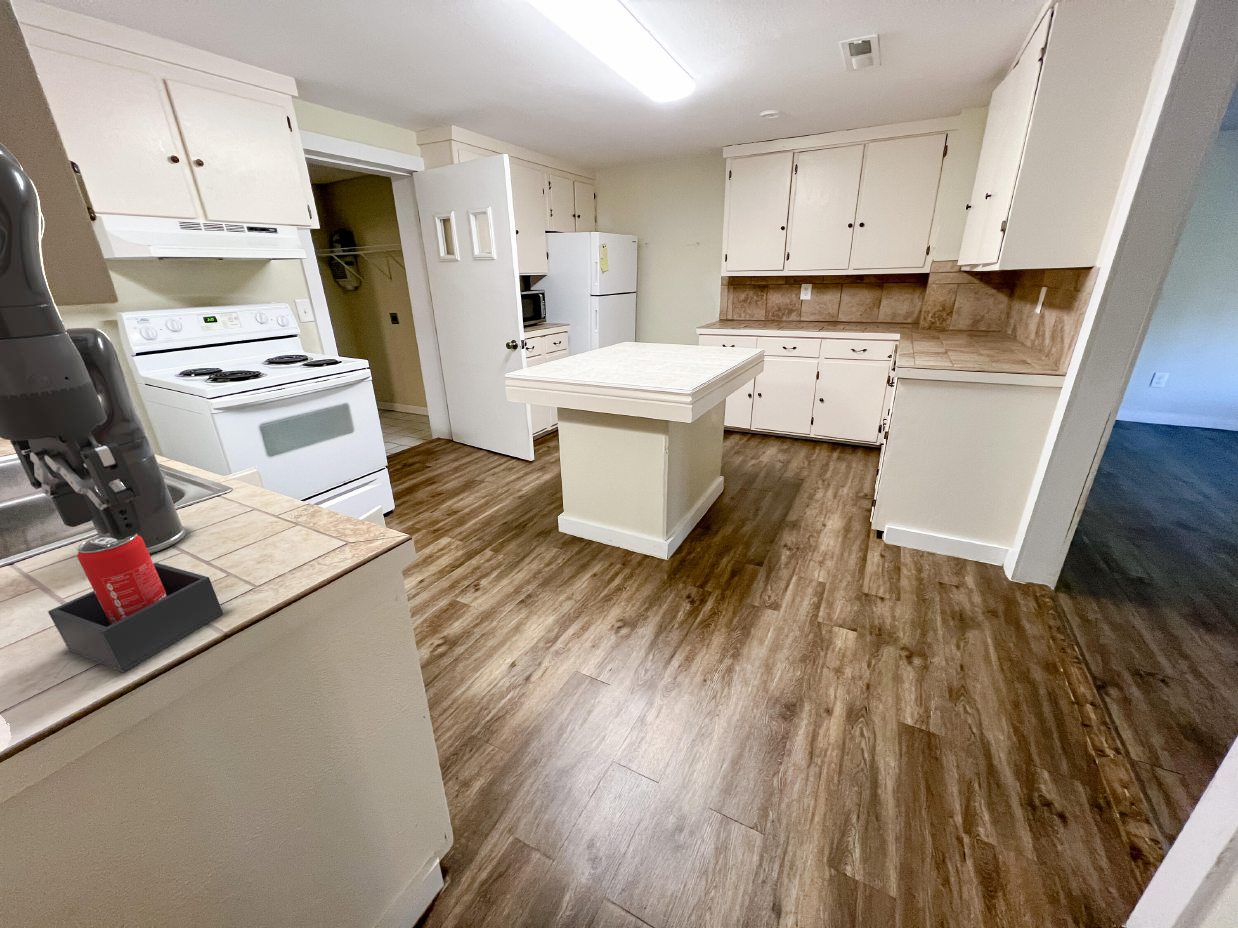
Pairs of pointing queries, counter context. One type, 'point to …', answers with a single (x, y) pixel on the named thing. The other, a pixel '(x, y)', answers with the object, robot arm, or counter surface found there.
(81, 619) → the bin
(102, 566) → the beverage can
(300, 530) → the counter surface
